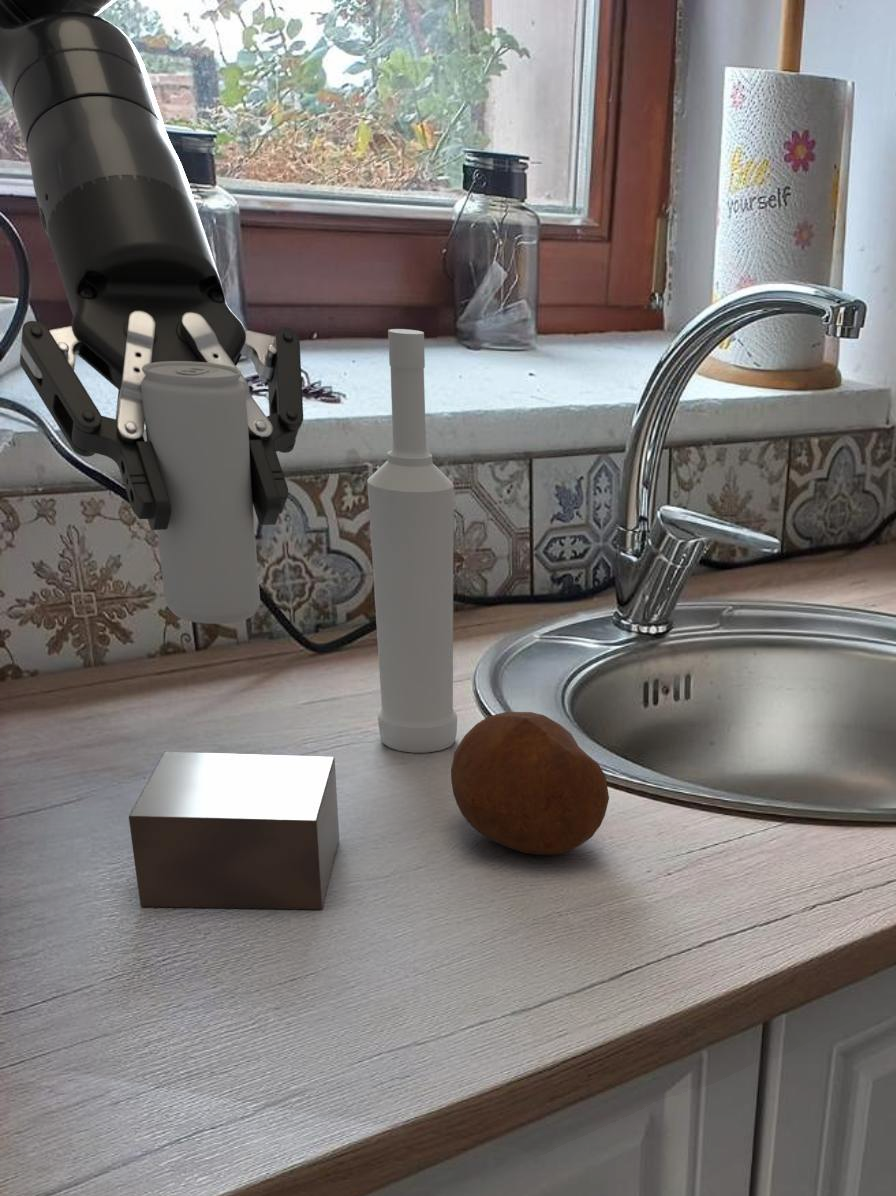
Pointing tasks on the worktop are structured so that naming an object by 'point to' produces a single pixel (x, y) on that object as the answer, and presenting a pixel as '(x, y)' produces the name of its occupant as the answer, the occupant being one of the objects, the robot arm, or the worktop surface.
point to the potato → (528, 784)
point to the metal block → (236, 831)
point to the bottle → (412, 568)
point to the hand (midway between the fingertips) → (218, 517)
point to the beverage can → (204, 489)
